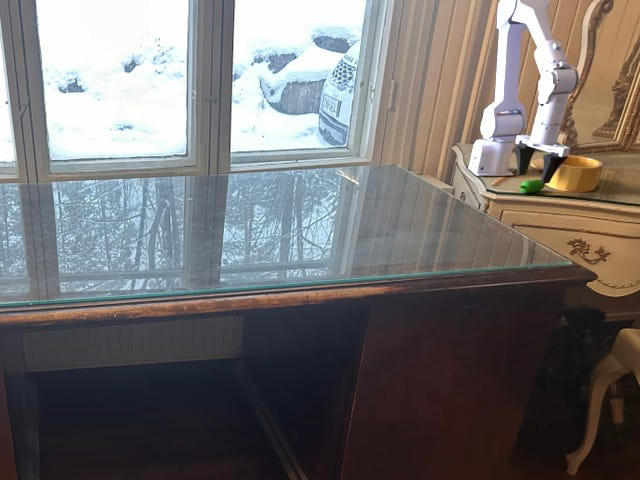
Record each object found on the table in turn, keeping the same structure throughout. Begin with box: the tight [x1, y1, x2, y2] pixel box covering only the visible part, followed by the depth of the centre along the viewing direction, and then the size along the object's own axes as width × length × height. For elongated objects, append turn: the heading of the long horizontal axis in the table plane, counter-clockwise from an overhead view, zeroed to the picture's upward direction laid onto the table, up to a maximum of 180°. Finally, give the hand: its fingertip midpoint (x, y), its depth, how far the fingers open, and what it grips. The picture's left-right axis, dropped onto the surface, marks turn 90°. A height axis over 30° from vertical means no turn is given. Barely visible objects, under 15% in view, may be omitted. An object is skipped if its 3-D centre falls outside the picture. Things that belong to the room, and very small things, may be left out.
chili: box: [518, 178, 546, 194], centre depth 169 cm, size 8×3×3 cm, turn 109°
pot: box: [545, 155, 604, 193], centre depth 173 cm, size 12×12×6 cm
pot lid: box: [530, 157, 544, 171], centre depth 186 cm, size 13×13×5 cm
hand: (533, 178), depth 169 cm, fingers open, 7 cm apart
